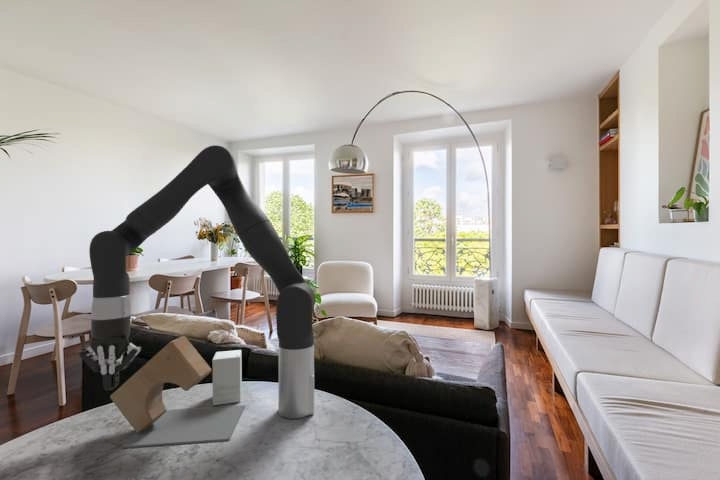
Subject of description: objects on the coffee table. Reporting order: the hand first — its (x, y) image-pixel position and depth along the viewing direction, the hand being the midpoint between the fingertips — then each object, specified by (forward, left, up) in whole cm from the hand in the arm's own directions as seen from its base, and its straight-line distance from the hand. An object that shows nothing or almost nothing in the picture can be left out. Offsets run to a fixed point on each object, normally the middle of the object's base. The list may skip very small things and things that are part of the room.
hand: (110, 388), depth 79 cm
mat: (-18, 0, -10) cm, 20 cm away
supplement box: (-23, -14, -10) cm, 29 cm away
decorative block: (-5, 0, -5) cm, 7 cm away
